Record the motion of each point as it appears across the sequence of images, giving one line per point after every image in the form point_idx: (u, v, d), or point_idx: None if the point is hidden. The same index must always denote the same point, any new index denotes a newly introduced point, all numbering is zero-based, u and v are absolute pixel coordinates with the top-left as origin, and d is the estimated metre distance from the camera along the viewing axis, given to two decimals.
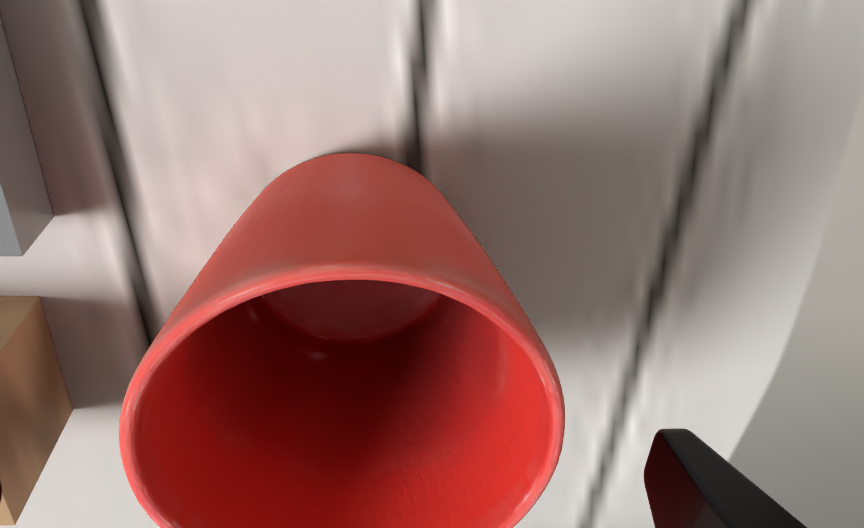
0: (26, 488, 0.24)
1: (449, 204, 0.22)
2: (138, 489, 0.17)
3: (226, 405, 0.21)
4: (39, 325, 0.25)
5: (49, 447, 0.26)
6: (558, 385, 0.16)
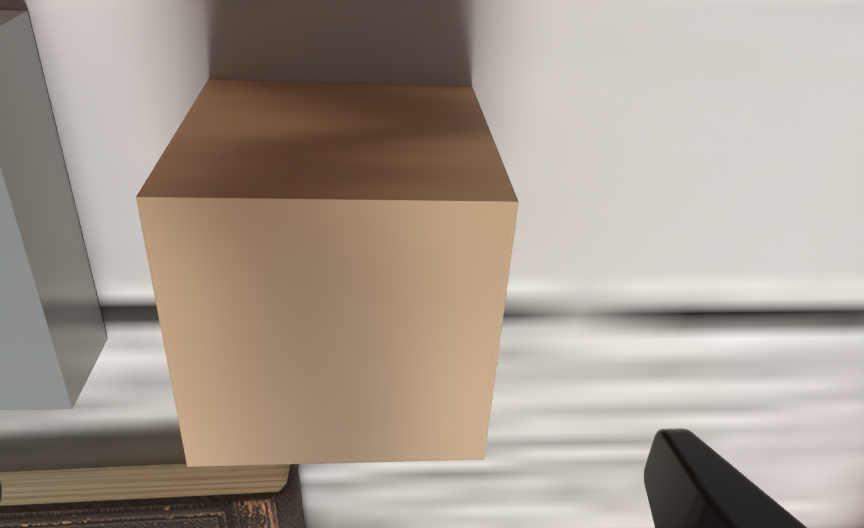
0: (481, 168, 0.11)
1: None
2: None
3: None
4: (249, 88, 0.14)
5: (473, 124, 0.13)
6: None
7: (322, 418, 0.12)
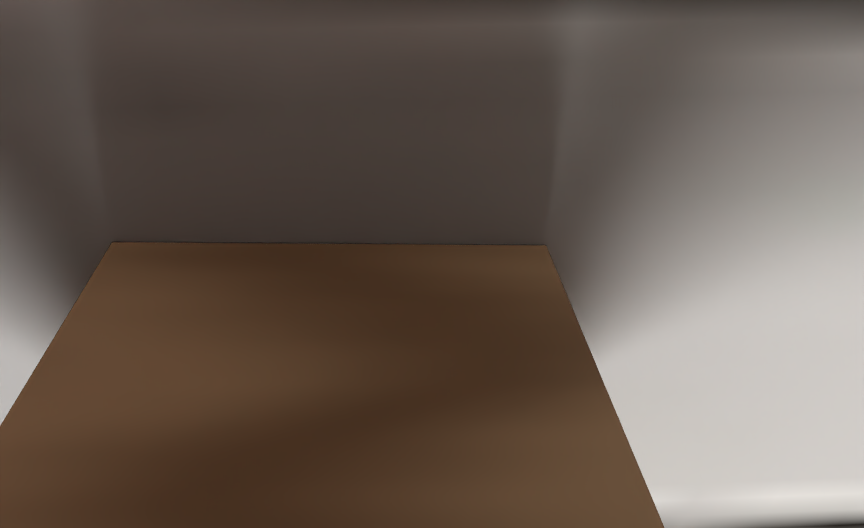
0: (614, 526, 0.06)
1: None
2: None
3: None
4: (175, 269, 0.08)
5: (569, 361, 0.07)
6: None
7: None
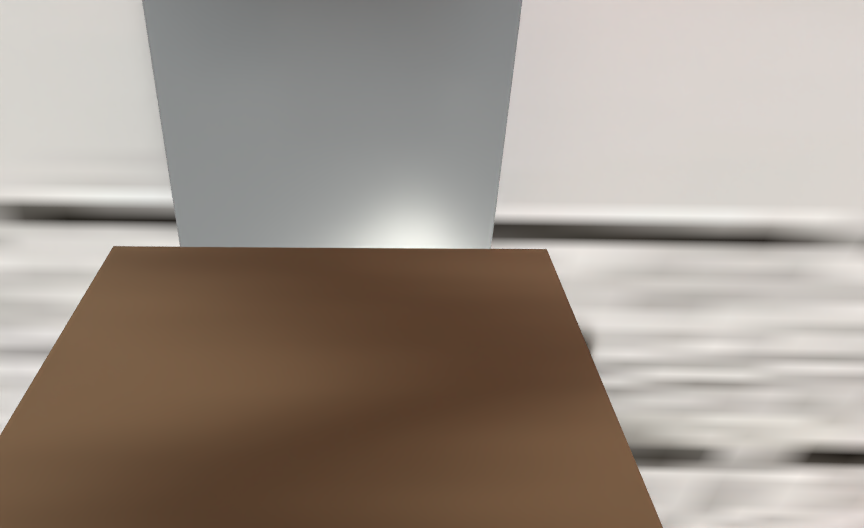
0: None
1: None
2: None
3: None
4: (177, 275, 0.08)
5: (569, 366, 0.07)
6: None
7: None
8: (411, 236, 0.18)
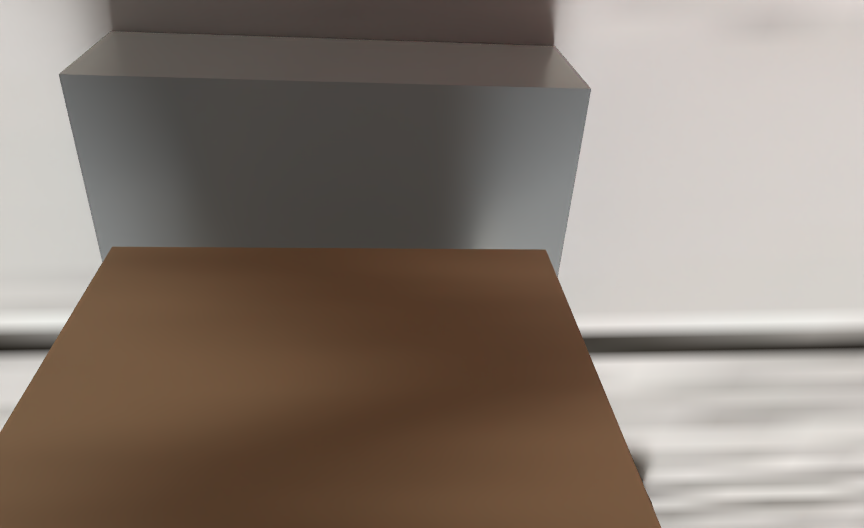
0: None
1: None
2: None
3: None
4: (175, 274, 0.08)
5: (568, 367, 0.07)
6: None
7: None
8: None
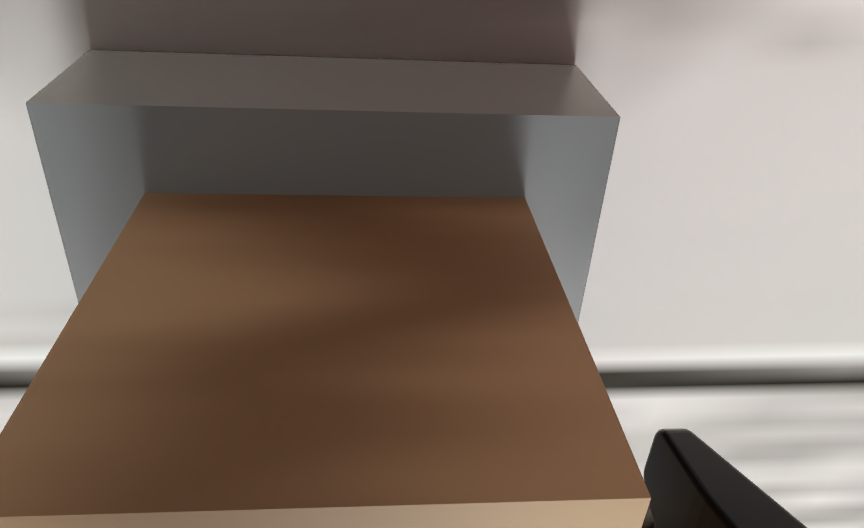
0: (570, 400, 0.07)
1: None
2: None
3: None
4: (201, 214, 0.09)
5: (540, 285, 0.08)
6: None
7: None
8: None
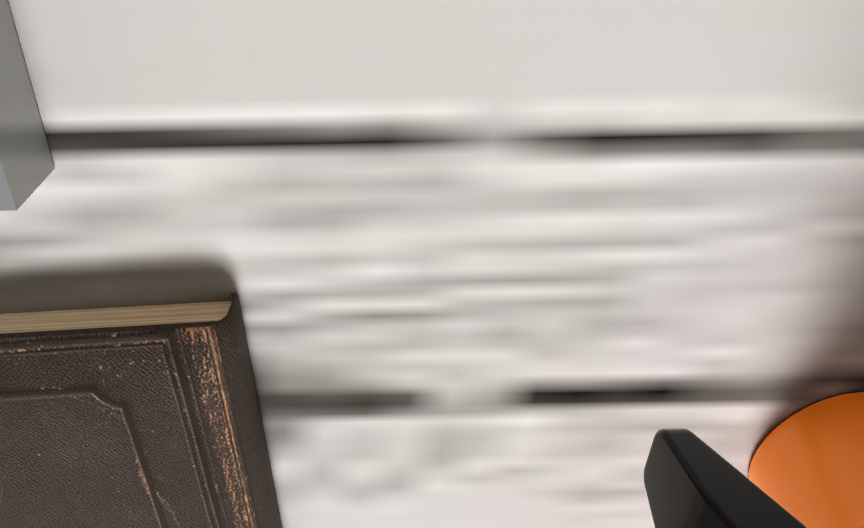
0: None
1: None
2: None
3: None
4: None
5: None
6: None
7: None
8: None
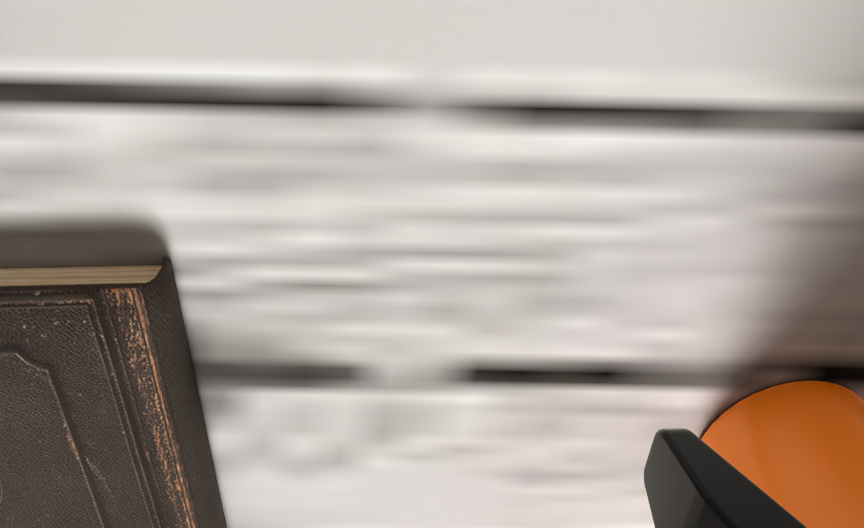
0: None
1: None
2: None
3: None
4: None
5: None
6: None
7: None
8: None
